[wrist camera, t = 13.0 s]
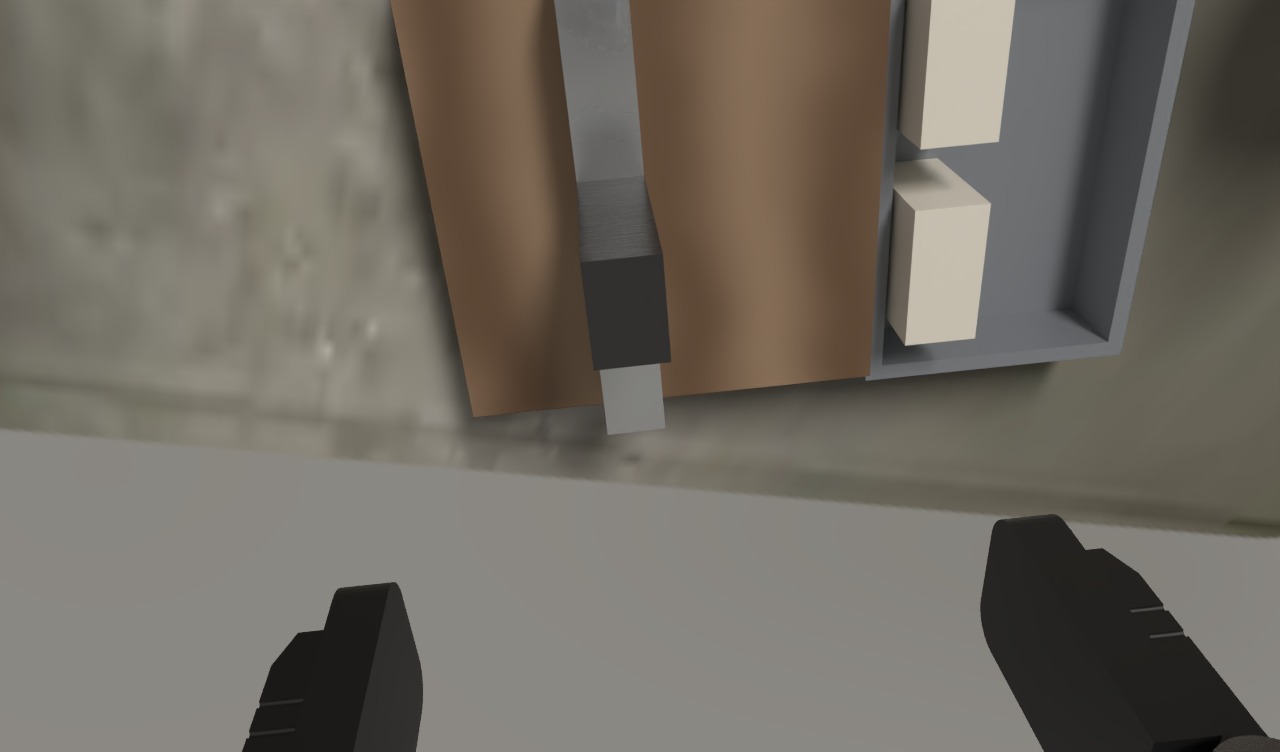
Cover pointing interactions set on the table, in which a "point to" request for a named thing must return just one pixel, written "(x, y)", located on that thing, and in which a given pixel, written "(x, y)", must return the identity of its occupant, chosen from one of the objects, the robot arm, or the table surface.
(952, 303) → the cream tile
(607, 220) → the bar
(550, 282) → the walnut plate
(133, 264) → the table surface
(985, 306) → the box
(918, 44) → the cream tile
